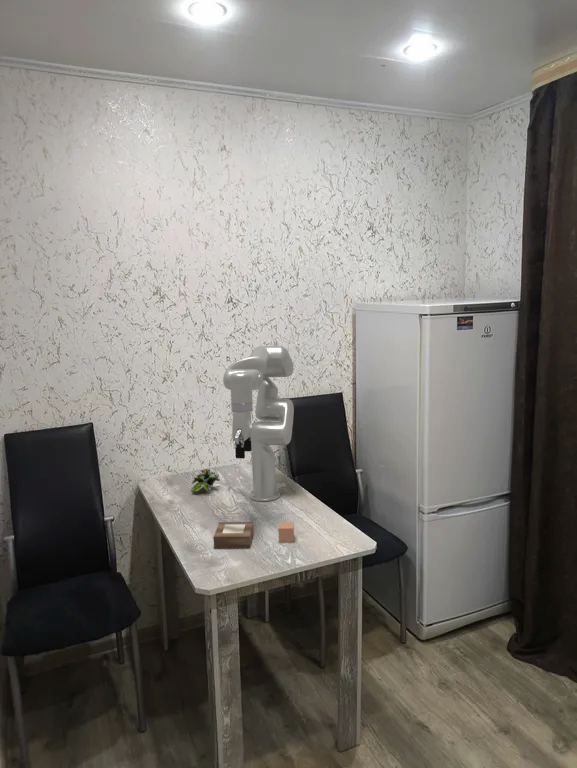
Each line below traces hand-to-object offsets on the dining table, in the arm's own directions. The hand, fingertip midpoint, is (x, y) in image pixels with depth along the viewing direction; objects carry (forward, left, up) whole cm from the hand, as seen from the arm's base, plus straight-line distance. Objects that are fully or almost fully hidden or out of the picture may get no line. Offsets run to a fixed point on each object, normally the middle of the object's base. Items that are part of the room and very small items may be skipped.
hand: (243, 454), depth 199 cm
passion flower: (-7, -41, -27) cm, 50 cm away
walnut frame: (+10, +8, -27) cm, 29 cm away
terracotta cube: (-4, +19, -27) cm, 33 cm away
